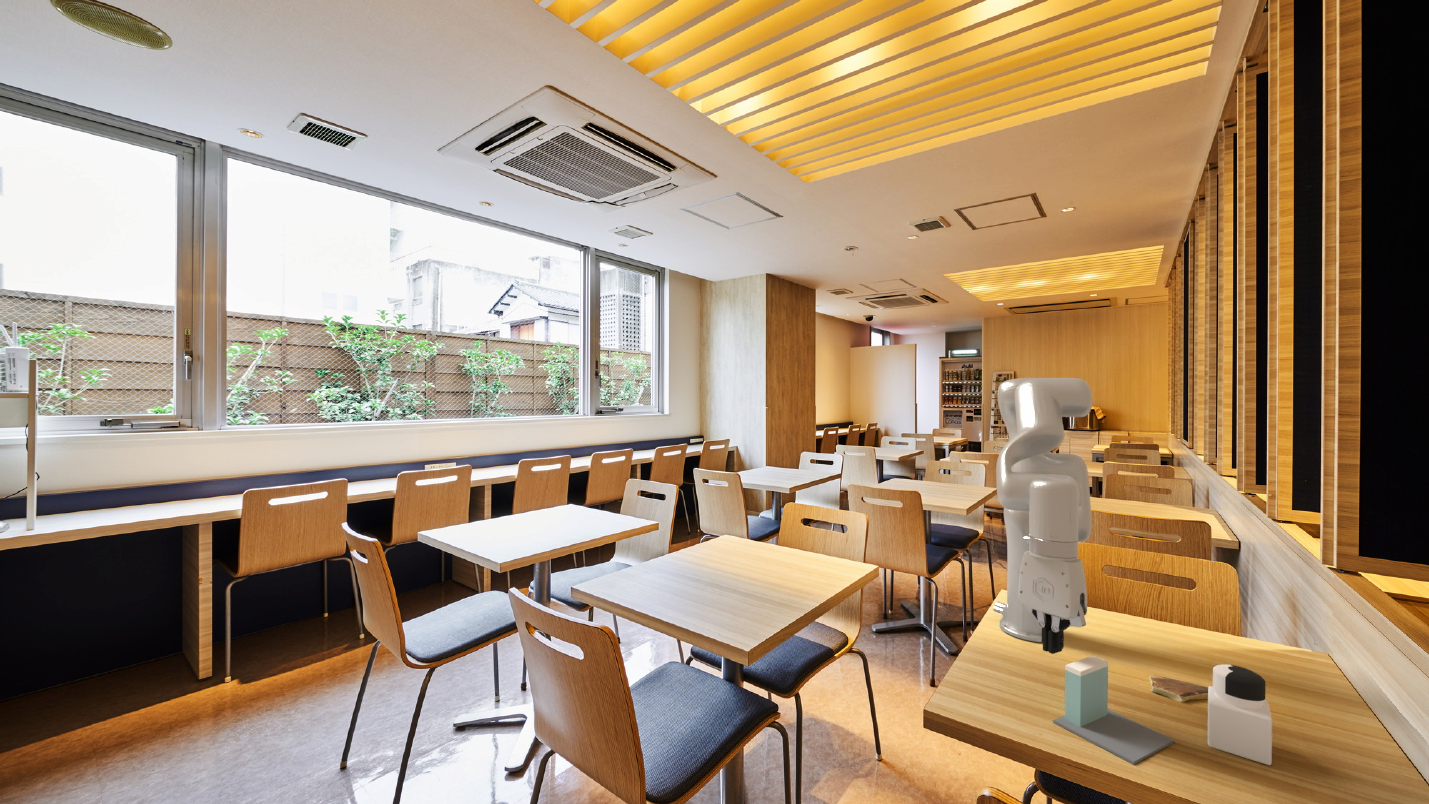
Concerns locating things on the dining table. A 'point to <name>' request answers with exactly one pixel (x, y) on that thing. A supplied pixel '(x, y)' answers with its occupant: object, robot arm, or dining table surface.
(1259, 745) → the medicine bottle
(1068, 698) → the slab
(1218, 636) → the dining table surface
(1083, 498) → the robot arm
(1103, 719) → the mat
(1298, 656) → the dining table surface
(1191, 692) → the shard
